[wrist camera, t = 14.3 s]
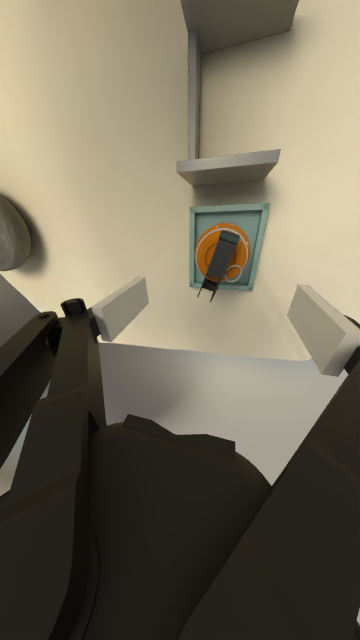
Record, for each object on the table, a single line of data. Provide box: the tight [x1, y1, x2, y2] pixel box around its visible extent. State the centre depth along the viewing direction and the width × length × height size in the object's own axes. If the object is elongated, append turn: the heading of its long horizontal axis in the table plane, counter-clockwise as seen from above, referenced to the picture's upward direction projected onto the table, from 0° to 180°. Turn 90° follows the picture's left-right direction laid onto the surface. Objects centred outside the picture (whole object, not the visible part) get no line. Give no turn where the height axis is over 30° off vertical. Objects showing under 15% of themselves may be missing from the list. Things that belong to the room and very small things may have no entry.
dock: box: [177, 0, 299, 186], centre depth 24 cm, size 17×14×12 cm
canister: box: [195, 222, 250, 302], centre depth 30 cm, size 9×11×20 cm
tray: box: [190, 203, 270, 291], centre depth 38 cm, size 17×15×3 cm
